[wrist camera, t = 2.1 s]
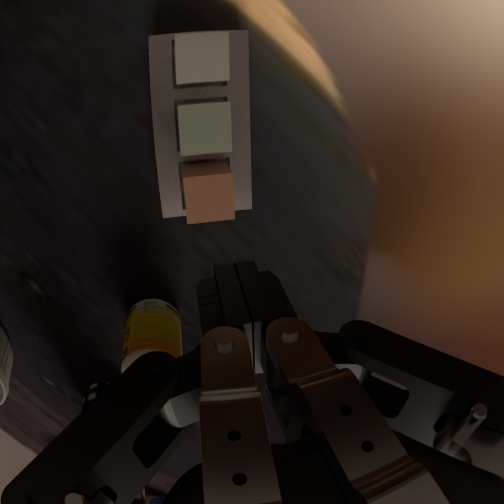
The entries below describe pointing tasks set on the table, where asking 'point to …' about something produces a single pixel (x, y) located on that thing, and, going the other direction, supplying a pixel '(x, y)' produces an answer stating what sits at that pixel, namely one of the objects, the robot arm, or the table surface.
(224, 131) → the key sage
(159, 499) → the grapes
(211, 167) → the key terracotta
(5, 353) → the ramekin
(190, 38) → the key ivory
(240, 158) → the keypad frame
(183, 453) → the table surface
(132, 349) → the supplement bottle
